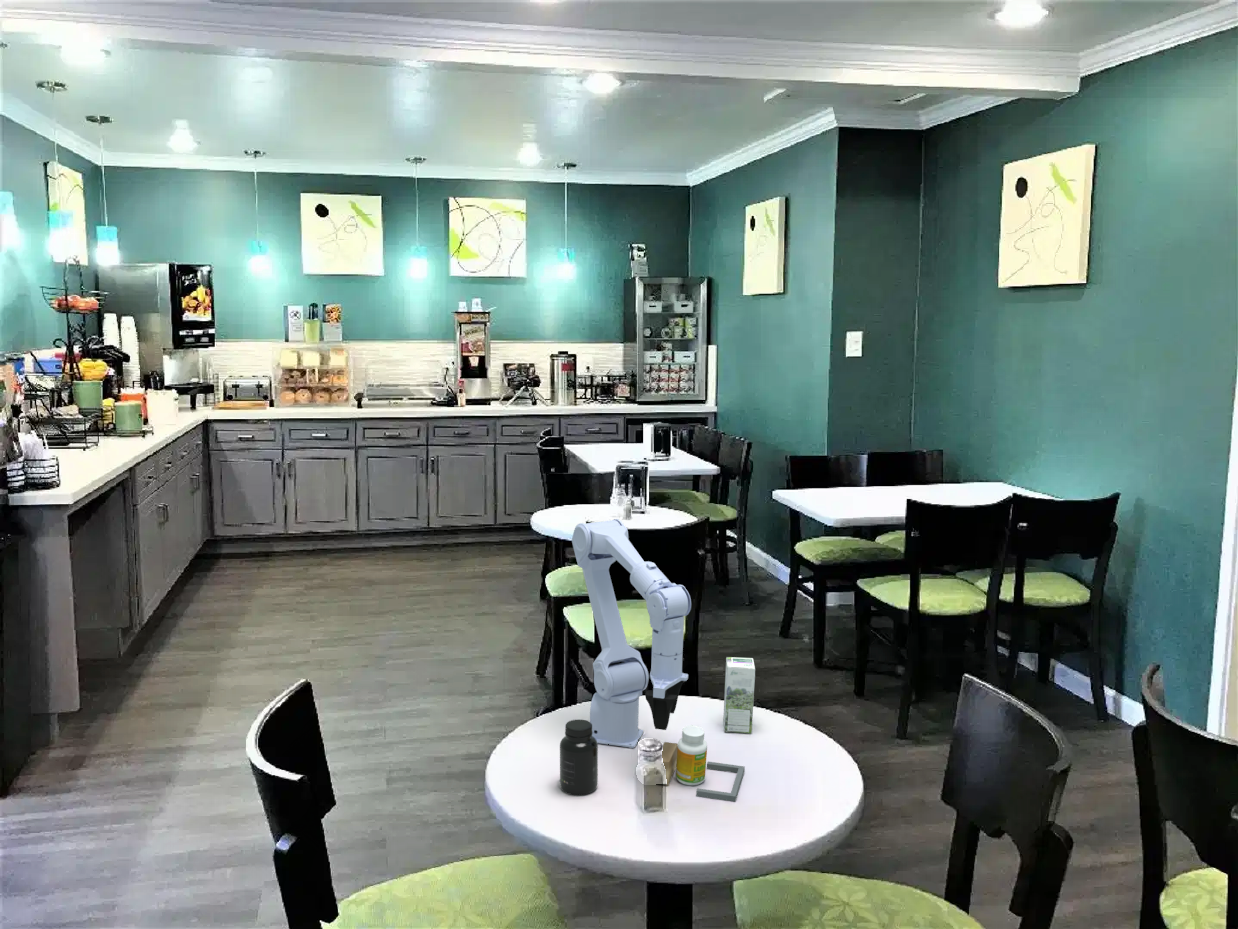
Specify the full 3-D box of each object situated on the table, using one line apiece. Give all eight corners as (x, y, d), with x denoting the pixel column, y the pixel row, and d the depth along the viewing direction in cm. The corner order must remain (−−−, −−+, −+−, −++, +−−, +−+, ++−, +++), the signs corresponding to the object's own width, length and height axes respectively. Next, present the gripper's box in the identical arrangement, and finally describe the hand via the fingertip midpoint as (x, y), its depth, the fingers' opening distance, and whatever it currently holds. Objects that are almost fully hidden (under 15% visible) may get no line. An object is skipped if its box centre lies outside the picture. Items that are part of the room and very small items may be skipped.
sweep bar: (654, 783, 183) (655, 760, 182) (663, 764, 190) (664, 742, 190) (668, 785, 182) (668, 762, 181) (676, 766, 190) (677, 743, 189)
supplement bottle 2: (694, 789, 181) (698, 741, 179) (669, 779, 184) (673, 731, 182) (710, 777, 186) (713, 729, 183) (685, 767, 189) (688, 720, 186)
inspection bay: (696, 796, 179) (696, 791, 179) (707, 766, 190) (707, 761, 190) (735, 801, 177) (735, 796, 177) (744, 771, 189) (744, 766, 189)
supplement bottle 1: (579, 774, 186) (580, 713, 184) (605, 788, 181) (606, 725, 179) (551, 786, 181) (552, 723, 179) (576, 800, 176) (578, 736, 175)
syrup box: (750, 722, 211) (753, 656, 208) (752, 735, 205) (755, 667, 202) (723, 721, 211) (726, 655, 209) (724, 733, 205) (726, 665, 203)
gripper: (681, 667, 178) (679, 739, 180) (695, 640, 192) (692, 707, 194) (642, 662, 179) (640, 734, 182) (658, 636, 193) (656, 703, 195)
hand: (664, 720), depth 188 cm, fingers open, 7 cm apart
